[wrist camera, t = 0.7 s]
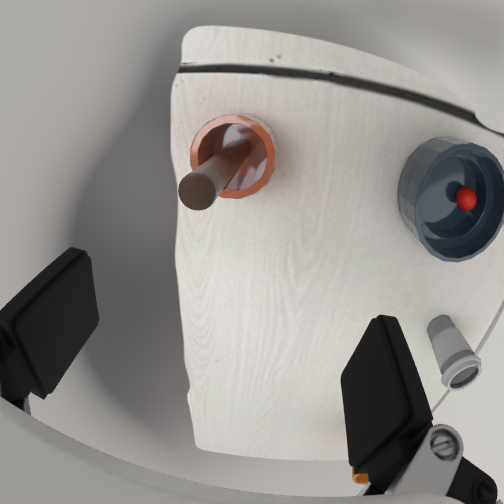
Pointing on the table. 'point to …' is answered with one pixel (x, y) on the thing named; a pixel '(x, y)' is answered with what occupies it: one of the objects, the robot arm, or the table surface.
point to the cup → (453, 354)
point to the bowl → (452, 197)
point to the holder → (225, 133)
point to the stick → (212, 176)
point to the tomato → (466, 198)
